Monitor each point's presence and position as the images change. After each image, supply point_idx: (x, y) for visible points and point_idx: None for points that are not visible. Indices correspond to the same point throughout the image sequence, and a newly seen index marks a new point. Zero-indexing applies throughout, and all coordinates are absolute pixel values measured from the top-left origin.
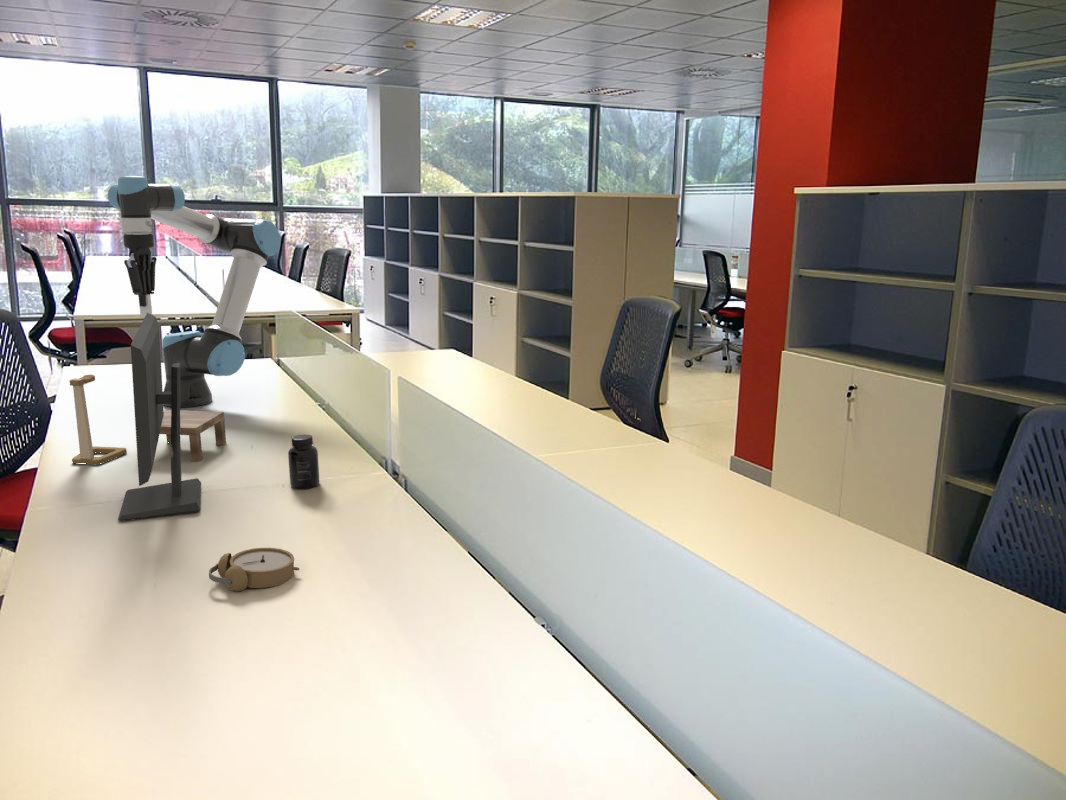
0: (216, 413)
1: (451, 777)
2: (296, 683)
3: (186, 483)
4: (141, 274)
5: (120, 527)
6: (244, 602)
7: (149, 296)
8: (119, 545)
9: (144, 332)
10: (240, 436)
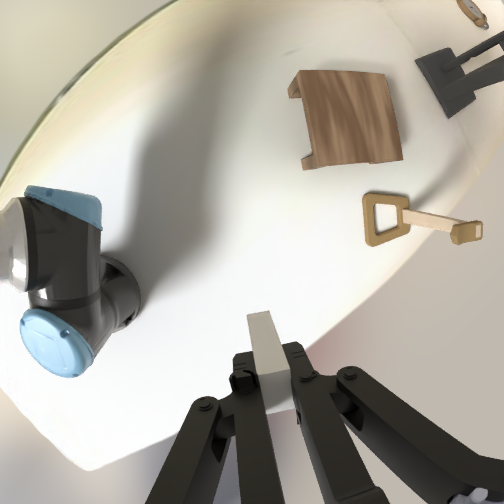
0: (312, 76)
1: None
2: (491, 4)
3: (431, 66)
4: (362, 470)
5: (477, 94)
6: None
7: (266, 367)
8: None
9: None
10: (250, 86)
